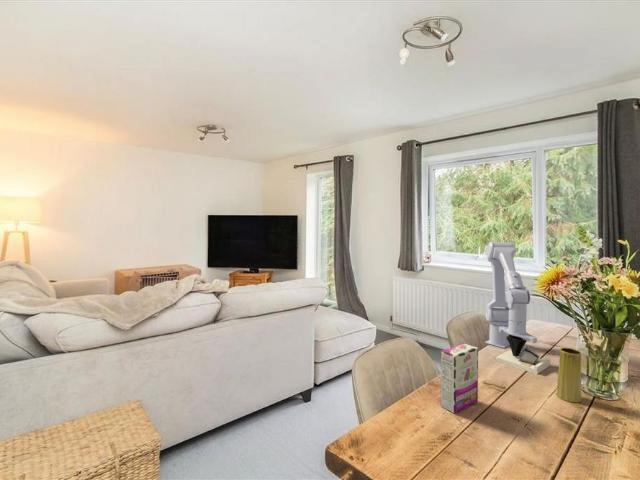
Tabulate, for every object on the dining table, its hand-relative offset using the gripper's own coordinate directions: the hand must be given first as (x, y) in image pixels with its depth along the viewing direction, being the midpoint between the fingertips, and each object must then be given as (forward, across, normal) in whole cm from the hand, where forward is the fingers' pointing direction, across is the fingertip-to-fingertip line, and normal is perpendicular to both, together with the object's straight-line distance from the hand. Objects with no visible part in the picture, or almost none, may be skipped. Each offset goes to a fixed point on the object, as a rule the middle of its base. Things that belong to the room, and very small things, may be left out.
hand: (516, 355), depth 128 cm
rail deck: (+2, -2, -1) cm, 3 cm away
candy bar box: (+2, -17, +43) cm, 46 cm away
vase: (+2, -25, +9) cm, 27 cm away
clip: (+1, -3, -2) cm, 3 cm away
